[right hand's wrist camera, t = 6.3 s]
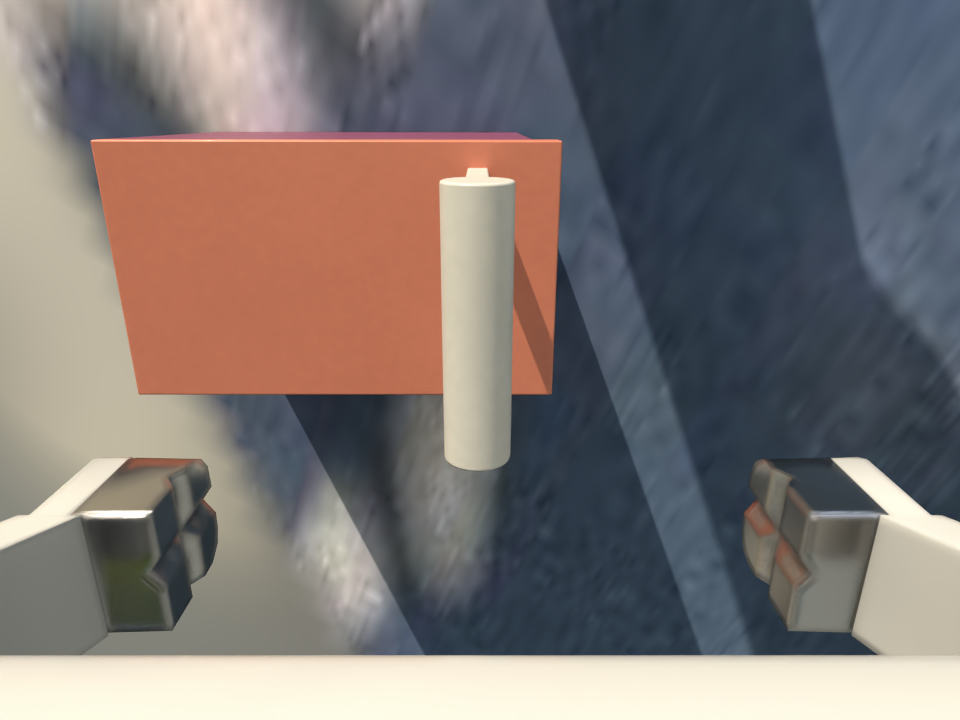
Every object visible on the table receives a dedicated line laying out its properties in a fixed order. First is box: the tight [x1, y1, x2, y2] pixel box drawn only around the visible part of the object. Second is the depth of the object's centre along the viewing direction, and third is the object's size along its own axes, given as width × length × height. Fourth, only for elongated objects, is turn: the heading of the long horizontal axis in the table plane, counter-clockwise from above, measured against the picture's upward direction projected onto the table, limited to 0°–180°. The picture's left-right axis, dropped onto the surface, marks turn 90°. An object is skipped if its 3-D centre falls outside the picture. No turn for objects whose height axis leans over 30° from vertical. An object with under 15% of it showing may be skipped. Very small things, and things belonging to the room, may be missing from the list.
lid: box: [91, 139, 562, 471], centre depth 21 cm, size 16×9×8 cm, turn 90°
